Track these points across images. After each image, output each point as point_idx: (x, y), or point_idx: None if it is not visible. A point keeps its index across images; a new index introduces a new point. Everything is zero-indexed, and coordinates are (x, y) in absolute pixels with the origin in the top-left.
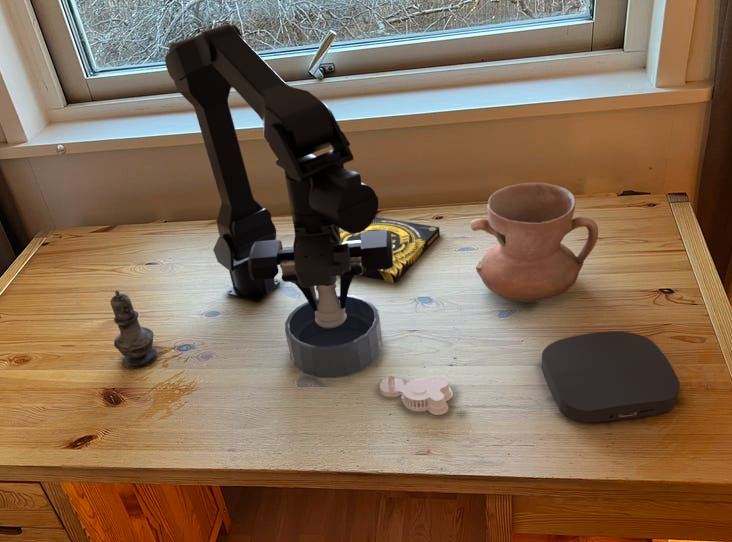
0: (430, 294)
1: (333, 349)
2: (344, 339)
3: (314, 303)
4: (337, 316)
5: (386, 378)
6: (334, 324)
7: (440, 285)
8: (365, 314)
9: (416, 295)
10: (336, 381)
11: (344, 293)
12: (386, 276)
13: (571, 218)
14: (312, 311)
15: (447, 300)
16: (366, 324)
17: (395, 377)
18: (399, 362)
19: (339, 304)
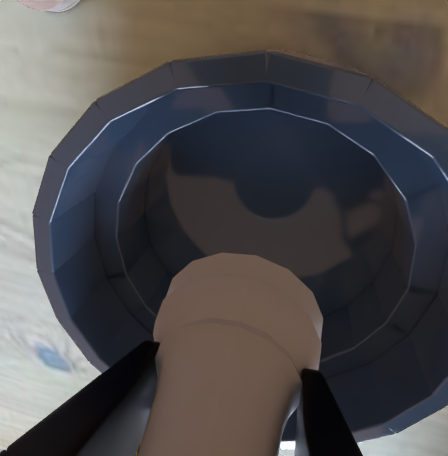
0: (46, 372)
1: (226, 54)
2: None
3: (312, 421)
4: (183, 295)
5: (60, 3)
6: (218, 263)
7: (33, 389)
8: (143, 332)
9: (74, 378)
10: (266, 47)
11: (48, 435)
12: (139, 448)
13: None
14: None
15: (6, 344)
16: (142, 292)
17: (29, 6)
18: (59, 129)
19: (159, 370)
